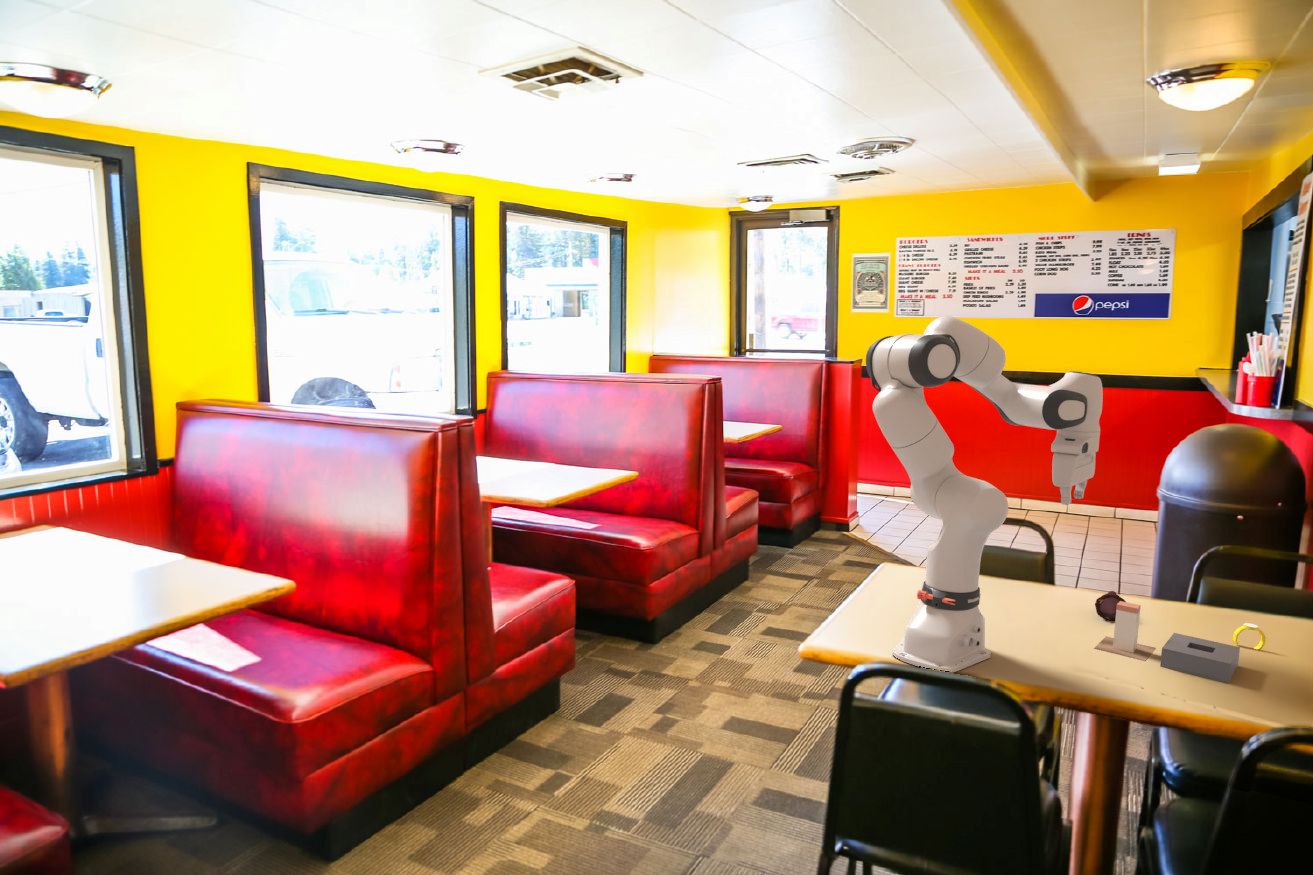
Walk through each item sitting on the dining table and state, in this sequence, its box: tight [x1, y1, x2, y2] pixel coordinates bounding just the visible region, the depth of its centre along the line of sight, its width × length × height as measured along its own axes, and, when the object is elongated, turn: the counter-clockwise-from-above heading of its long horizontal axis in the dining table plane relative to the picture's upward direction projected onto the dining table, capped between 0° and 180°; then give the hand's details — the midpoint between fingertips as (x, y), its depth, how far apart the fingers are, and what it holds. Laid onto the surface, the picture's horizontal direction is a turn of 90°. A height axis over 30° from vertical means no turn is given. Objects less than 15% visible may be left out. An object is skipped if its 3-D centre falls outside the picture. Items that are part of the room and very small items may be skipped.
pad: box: [1093, 635, 1156, 662], centre depth 185 cm, size 10×10×1 cm
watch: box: [1232, 622, 1266, 650], centre depth 187 cm, size 6×3×6 cm, turn 79°
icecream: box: [1094, 590, 1127, 623], centre depth 205 cm, size 7×7×15 cm
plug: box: [1113, 601, 1141, 653], centre depth 184 cm, size 3×4×10 cm
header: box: [1160, 632, 1241, 684], centre depth 176 cm, size 12×12×5 cm
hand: (1072, 501), depth 195 cm, fingers open, 8 cm apart
